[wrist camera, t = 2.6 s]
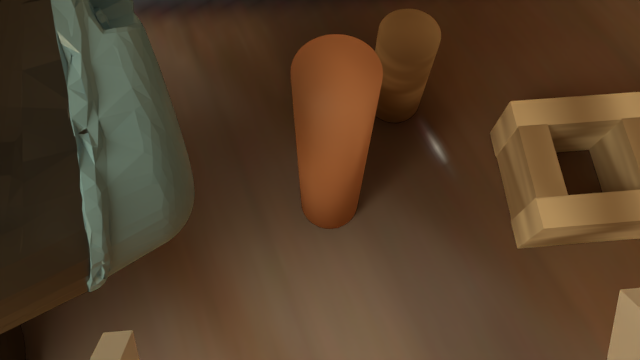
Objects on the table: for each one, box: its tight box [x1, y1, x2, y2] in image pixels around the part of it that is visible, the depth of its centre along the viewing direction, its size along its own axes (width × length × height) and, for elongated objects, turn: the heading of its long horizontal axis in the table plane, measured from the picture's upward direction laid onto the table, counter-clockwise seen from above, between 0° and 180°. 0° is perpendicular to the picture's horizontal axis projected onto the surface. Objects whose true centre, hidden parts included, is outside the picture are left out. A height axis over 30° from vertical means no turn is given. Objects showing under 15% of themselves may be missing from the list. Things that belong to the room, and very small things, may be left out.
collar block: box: [490, 92, 640, 249], centre depth 31 cm, size 8×8×4 cm
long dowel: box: [290, 34, 383, 229], centre depth 26 cm, size 4×4×14 cm
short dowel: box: [375, 9, 441, 123], centre depth 32 cm, size 4×4×7 cm
